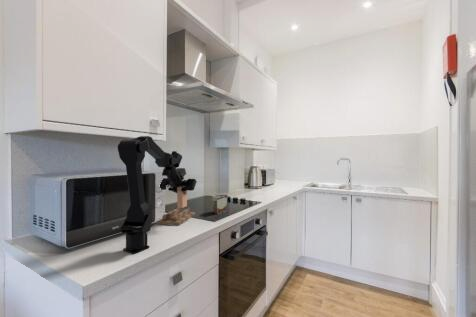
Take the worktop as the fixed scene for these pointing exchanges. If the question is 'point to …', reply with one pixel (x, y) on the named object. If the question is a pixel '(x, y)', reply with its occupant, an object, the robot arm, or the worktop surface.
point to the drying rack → (176, 217)
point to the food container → (220, 203)
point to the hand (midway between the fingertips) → (183, 193)
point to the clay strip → (181, 198)
